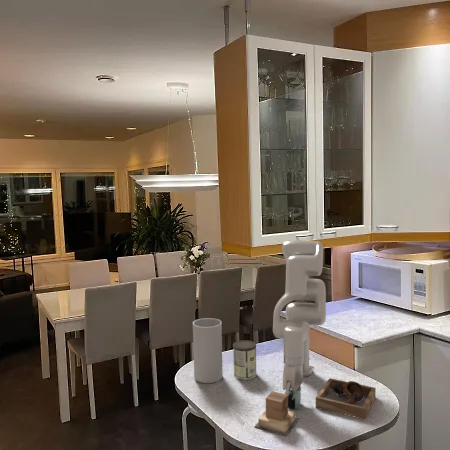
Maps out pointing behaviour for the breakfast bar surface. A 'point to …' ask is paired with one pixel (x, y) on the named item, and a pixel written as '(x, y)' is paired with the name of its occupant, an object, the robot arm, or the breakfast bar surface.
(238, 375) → the coffee can
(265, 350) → the breakfast bar surface
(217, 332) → the cylinder vase
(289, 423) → the plinth
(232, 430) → the breakfast bar surface
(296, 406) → the teal capsule
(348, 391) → the pottery mug
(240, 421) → the butter knife
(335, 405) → the mug tray
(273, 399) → the walnut block
